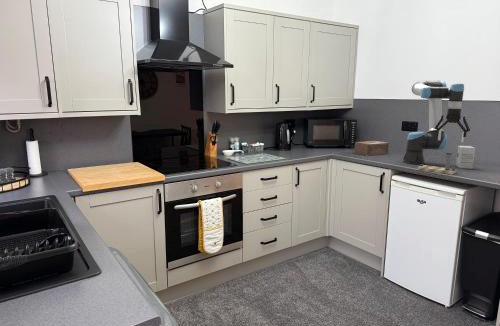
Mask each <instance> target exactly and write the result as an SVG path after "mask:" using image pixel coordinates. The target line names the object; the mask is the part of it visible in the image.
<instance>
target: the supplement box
mask: <svg viewBox="0 0 500 326" xmlns="http://www.w3.org/2000/svg"><path fill="white" fill-rule="evenodd" d="M475 156H476V147H473V146H472V145H457V152H456V160H455V166H456V167H457V168H459V169H471V170H472V169H474V165H475V164H474V162H475Z"/></svg>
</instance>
